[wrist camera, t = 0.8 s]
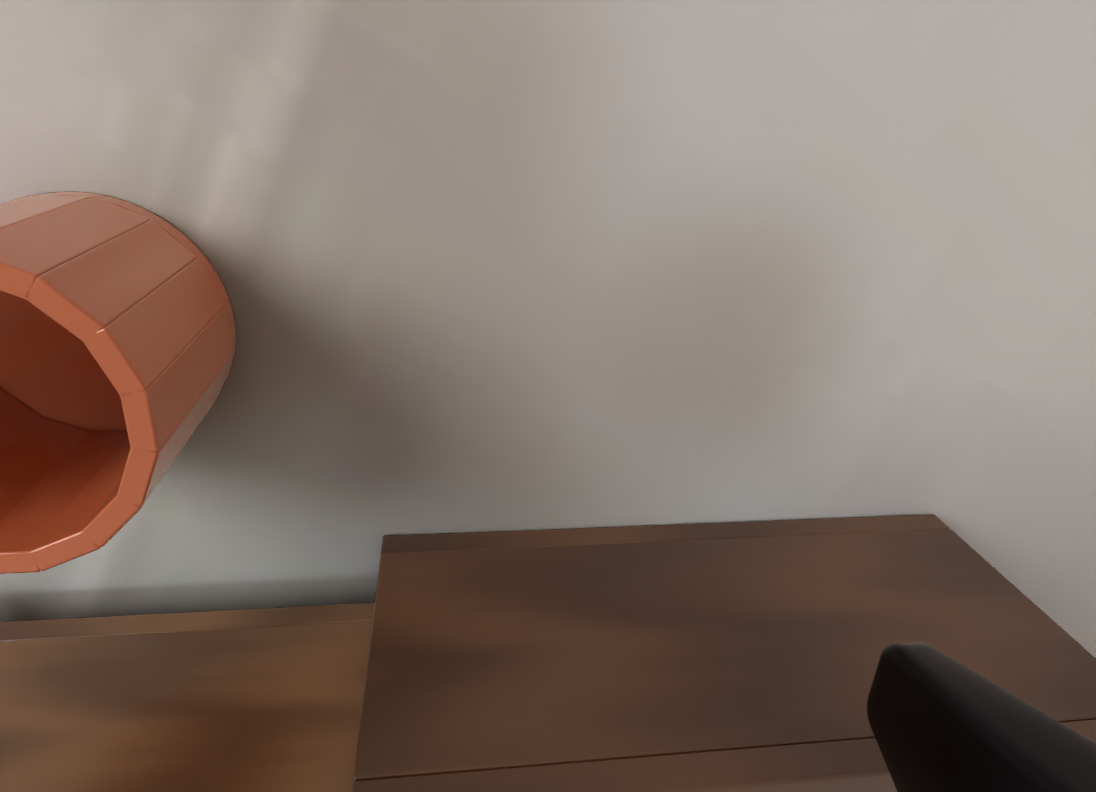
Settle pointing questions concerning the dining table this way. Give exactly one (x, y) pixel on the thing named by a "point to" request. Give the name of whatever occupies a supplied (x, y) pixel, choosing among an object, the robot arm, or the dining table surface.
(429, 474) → the dining table surface
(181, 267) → the cup
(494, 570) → the cabinet
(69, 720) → the drawer
